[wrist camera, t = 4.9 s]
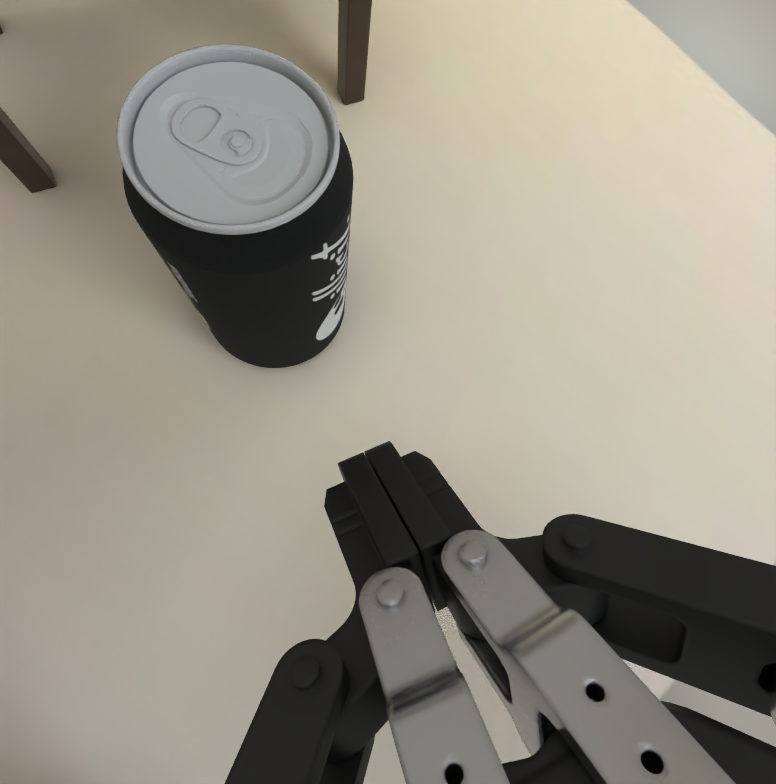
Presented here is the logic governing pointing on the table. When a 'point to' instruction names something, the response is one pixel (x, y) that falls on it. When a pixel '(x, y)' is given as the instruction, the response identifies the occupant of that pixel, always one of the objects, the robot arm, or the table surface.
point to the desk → (353, 39)
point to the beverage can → (243, 196)
